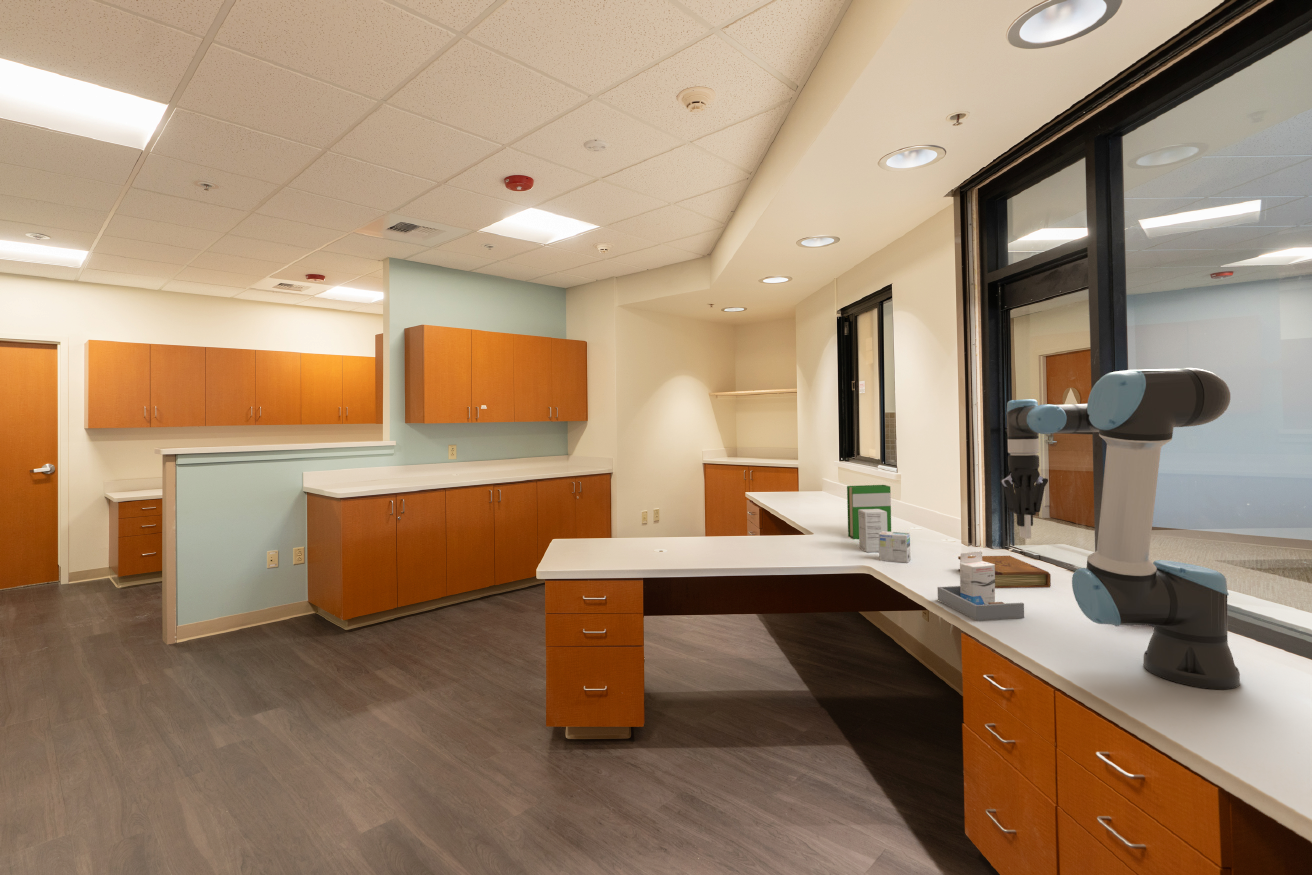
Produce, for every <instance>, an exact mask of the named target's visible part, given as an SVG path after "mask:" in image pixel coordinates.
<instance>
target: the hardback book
mask: <svg viewBox="0 0 1312 875" xmlns="http://www.w3.org/2000/svg"><path fill="white" fill-rule="evenodd" d="M846 493H847V494H846V496H847V498H846V499H847V503H846V505H847V508H846V509H847V536H848V537H849V538H850V537H851V538H852V540H859V514H858V510H860V509H880V510H883V511H886V512H887V532H892V505H891V504H892V503H891V502H892V499H891V498H892V497H891V496H892V495H891V486H890V485H886V484H869V485H868V484H867V485H866V484H864V485H847V486H846Z"/></svg>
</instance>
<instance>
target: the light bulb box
mask: <svg viewBox="0 0 1312 875" xmlns="http://www.w3.org/2000/svg"><path fill="white" fill-rule="evenodd" d="M878 555H879V556H878V557H879V558H878V560H879V561H881V560H882V561H883V562H885V561H886V562H894V563H904V564H905V563H906V564H908V563H909V561H911V559H912V558H911V534H910V532H903V531H902V532H900V531H891V532H887V531H882V532H880V533H879V552H878ZM882 561H881V562H882Z"/></svg>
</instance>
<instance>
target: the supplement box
mask: <svg viewBox="0 0 1312 875" xmlns="http://www.w3.org/2000/svg"><path fill="white" fill-rule="evenodd" d="M858 514H859V539H858V540H859V541H858V543H859V544H858V545H859V546H858V548H859V549H860V550H862V551H864V552H865V553H879V533H880V532H882V531H887V512H886V511H883V510H880V509H860V510H858Z"/></svg>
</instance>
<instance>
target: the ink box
mask: <svg viewBox="0 0 1312 875" xmlns="http://www.w3.org/2000/svg"><path fill="white" fill-rule="evenodd" d="M968 556H975V558H968ZM982 556H983V551H982V550H980V551H969V552H961V553H960V559H959V560H960V563H959V569H960V571H959V581H960V583H959V586H960V597H962V598H964V599H966V600H968V601H970V602H972V603H974V604H976V605H987V604H988V602H996V588H995V564H991V563H988V562H984V561H982Z"/></svg>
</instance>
